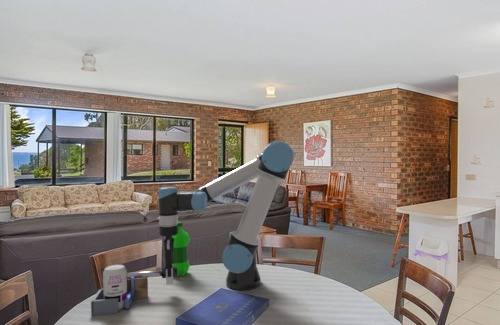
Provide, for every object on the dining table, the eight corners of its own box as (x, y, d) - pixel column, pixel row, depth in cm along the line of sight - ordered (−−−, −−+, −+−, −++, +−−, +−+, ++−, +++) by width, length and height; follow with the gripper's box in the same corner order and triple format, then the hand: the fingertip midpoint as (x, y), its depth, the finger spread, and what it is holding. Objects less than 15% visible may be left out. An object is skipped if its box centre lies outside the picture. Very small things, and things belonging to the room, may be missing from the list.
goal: (124, 299, 136) (123, 287, 136) (117, 312, 124) (117, 299, 124) (99, 301, 134) (99, 289, 134) (91, 315, 122) (91, 301, 122)
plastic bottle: (185, 278, 159) (183, 224, 159) (164, 276, 162) (163, 224, 161) (194, 271, 169) (192, 220, 168) (174, 270, 171) (173, 220, 171)
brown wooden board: (148, 295, 139) (147, 277, 139) (147, 297, 138) (147, 278, 138) (111, 299, 137) (111, 280, 137) (110, 300, 135) (110, 281, 135)
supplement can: (120, 300, 135) (119, 262, 135) (131, 305, 130) (130, 266, 130) (99, 307, 129) (98, 268, 129) (111, 313, 123) (110, 272, 123)
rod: (178, 291, 143) (177, 265, 142) (177, 304, 130) (176, 276, 130) (122, 295, 139) (121, 269, 139) (115, 309, 126) (115, 280, 126)
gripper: (160, 221, 148) (162, 275, 148) (157, 229, 131) (158, 290, 131) (178, 220, 149) (180, 274, 149) (177, 228, 132) (178, 289, 132)
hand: (170, 282), depth 140 cm, fingers closed on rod, 4 cm apart
